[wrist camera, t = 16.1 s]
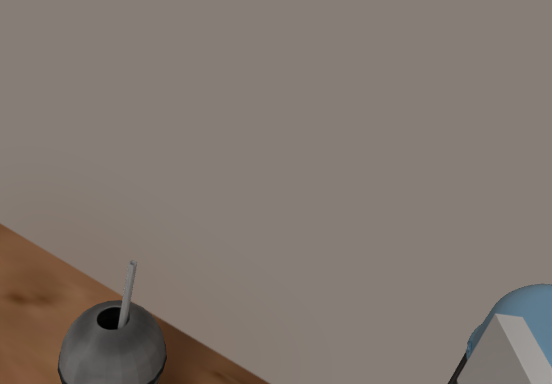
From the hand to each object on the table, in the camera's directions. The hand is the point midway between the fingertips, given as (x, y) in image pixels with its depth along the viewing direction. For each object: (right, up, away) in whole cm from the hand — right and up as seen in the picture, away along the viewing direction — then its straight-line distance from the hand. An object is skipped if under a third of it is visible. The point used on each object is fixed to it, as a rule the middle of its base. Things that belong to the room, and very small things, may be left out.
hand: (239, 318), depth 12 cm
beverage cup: (-12, -18, +28) cm, 35 cm away
